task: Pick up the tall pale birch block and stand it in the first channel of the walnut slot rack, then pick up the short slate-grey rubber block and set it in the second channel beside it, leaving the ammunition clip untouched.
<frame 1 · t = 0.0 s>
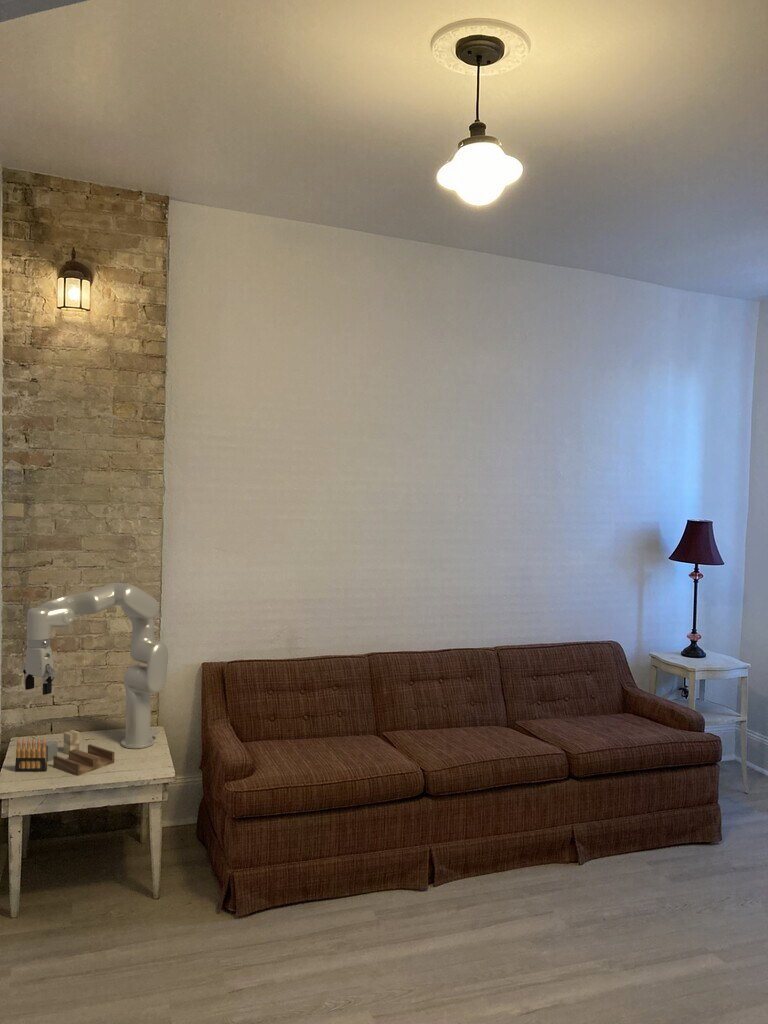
hand: (38, 691, 287), 31 cm above the table, fingers open, 9 cm apart
ammunition clip: (31, 771, 296), on the table
slot rack: (84, 764, 304), on the table
birch block: (71, 752, 315), on the table
rubber block: (49, 759, 308), on the table
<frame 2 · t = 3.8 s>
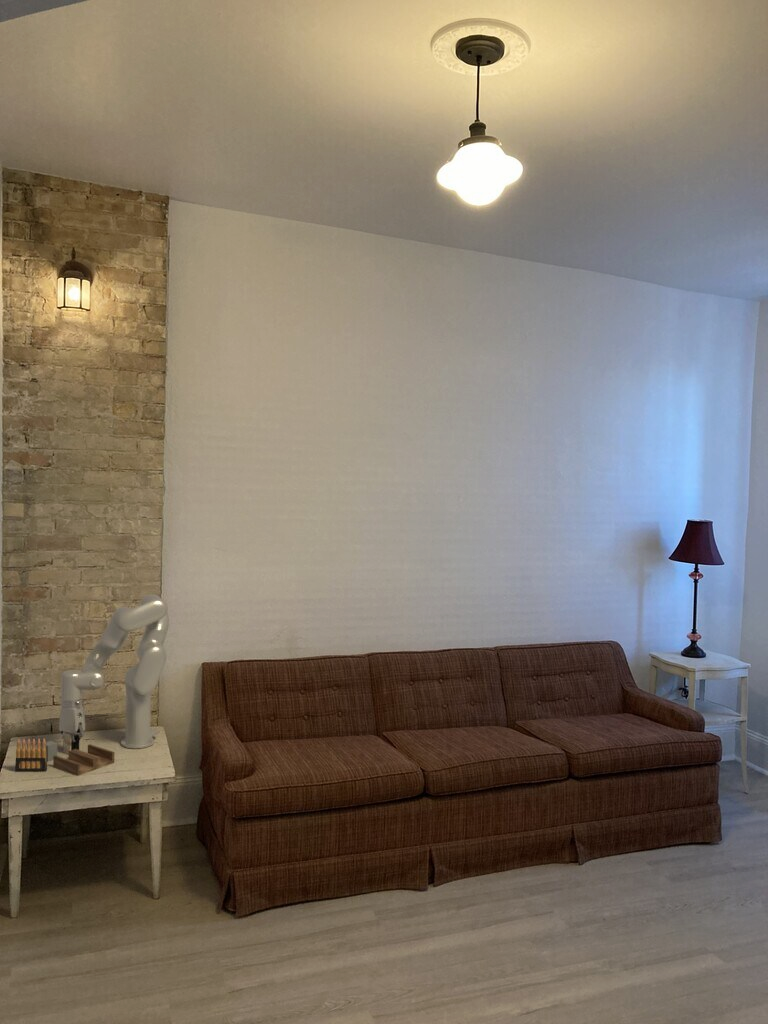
hand: (71, 749, 315), 1 cm above the table, fingers closed on birch block, 4 cm apart
birch block: (71, 752, 315), on the table, touching gripper
everything else where it was.
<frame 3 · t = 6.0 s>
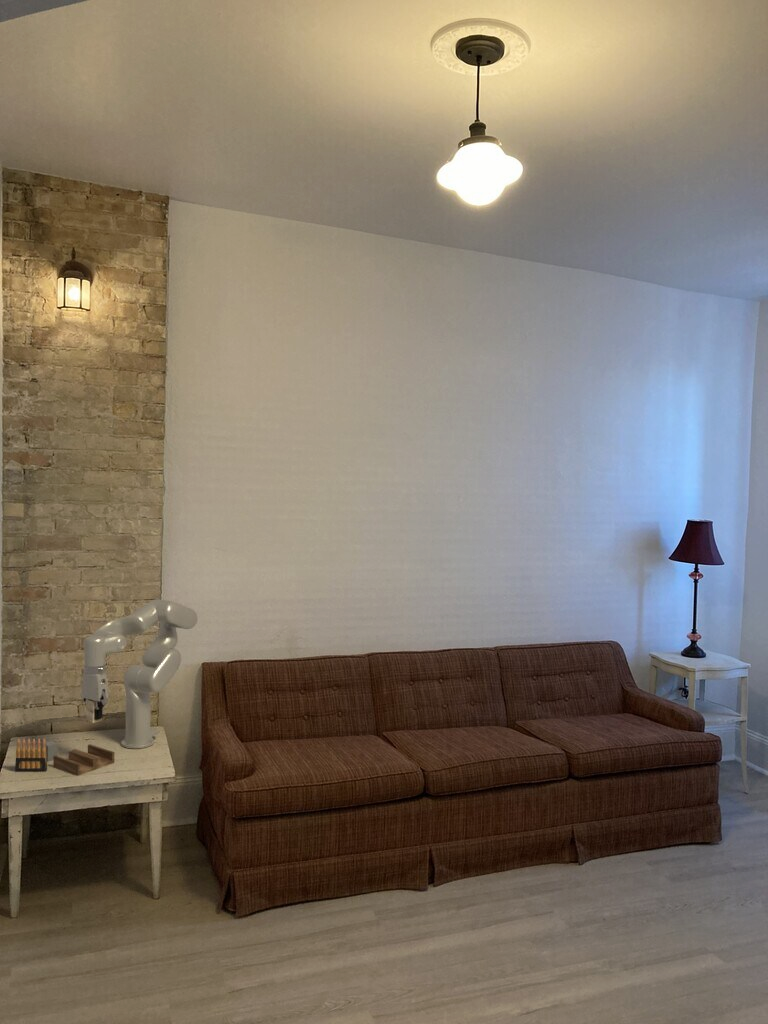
hand: (94, 717, 306), 17 cm above the table, fingers closed on birch block, 4 cm apart
birch block: (93, 720, 306), point 16 cm above the table, touching gripper
everything else where it was.
when the fingers open (3 cm above the table, at t = 8.7 s): birch block stays where it is, resting on slot rack.
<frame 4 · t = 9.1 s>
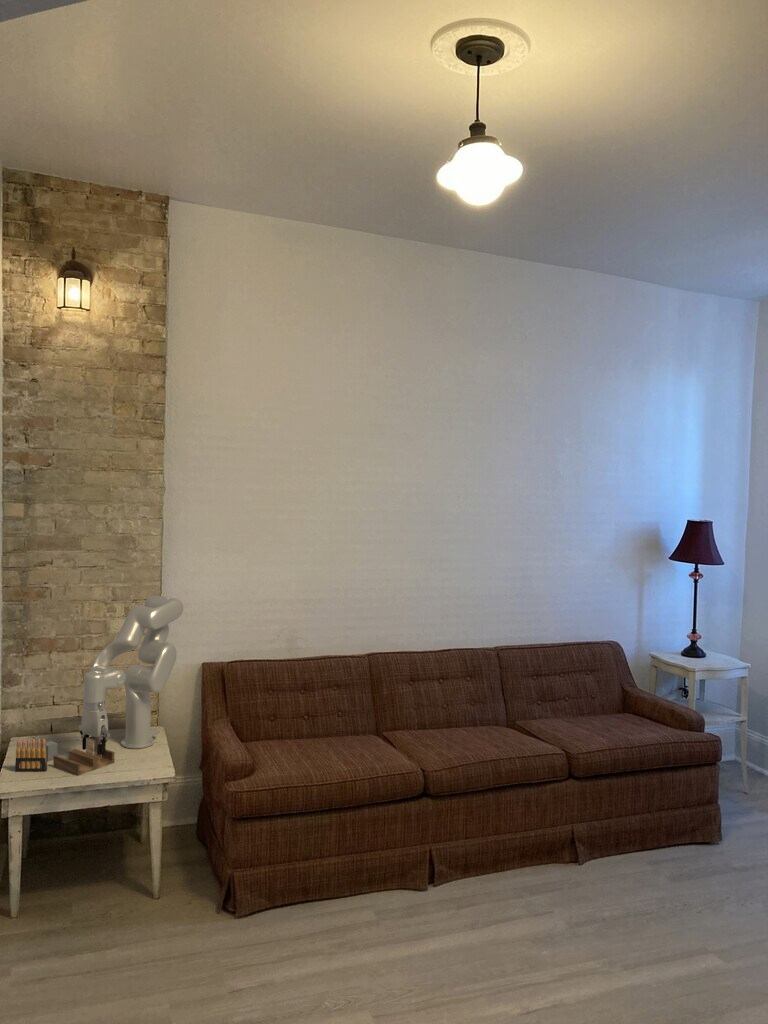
hand: (93, 750, 307), 4 cm above the table, fingers open, 8 cm apart
birch block: (93, 758, 307), point 1 cm above the table, touching slot rack
everything else where it was.
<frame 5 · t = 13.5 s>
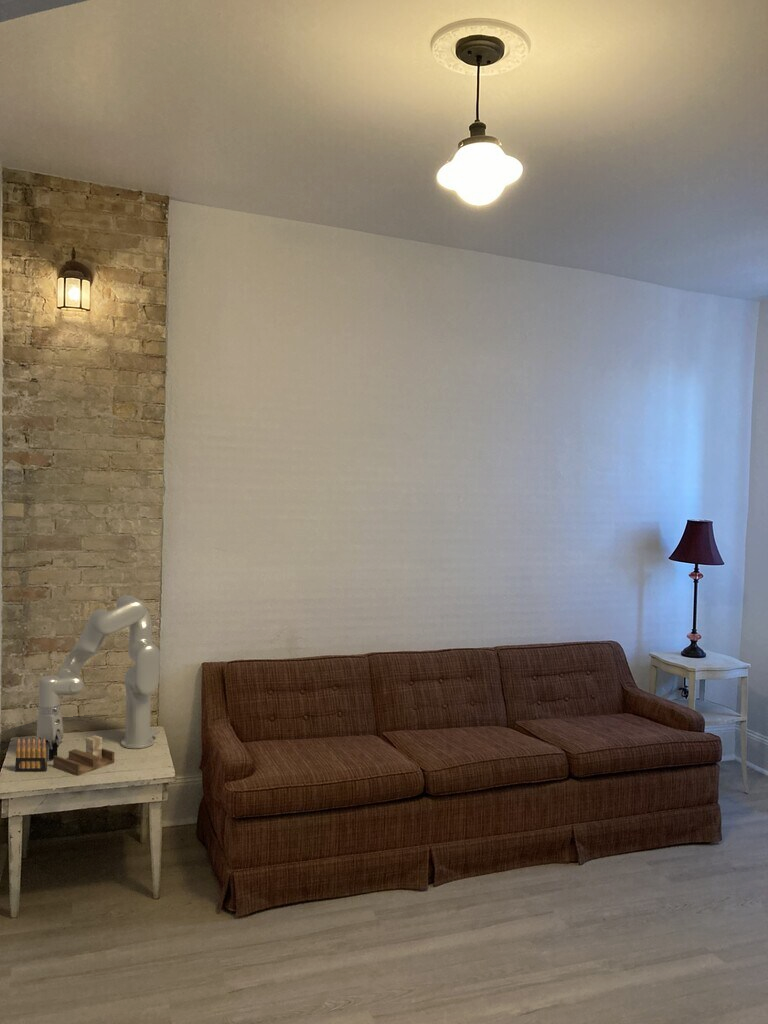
hand: (49, 756, 308), 1 cm above the table, fingers closed on rubber block, 4 cm apart
rubber block: (49, 758, 308), on the table, touching gripper
everything else where it was.
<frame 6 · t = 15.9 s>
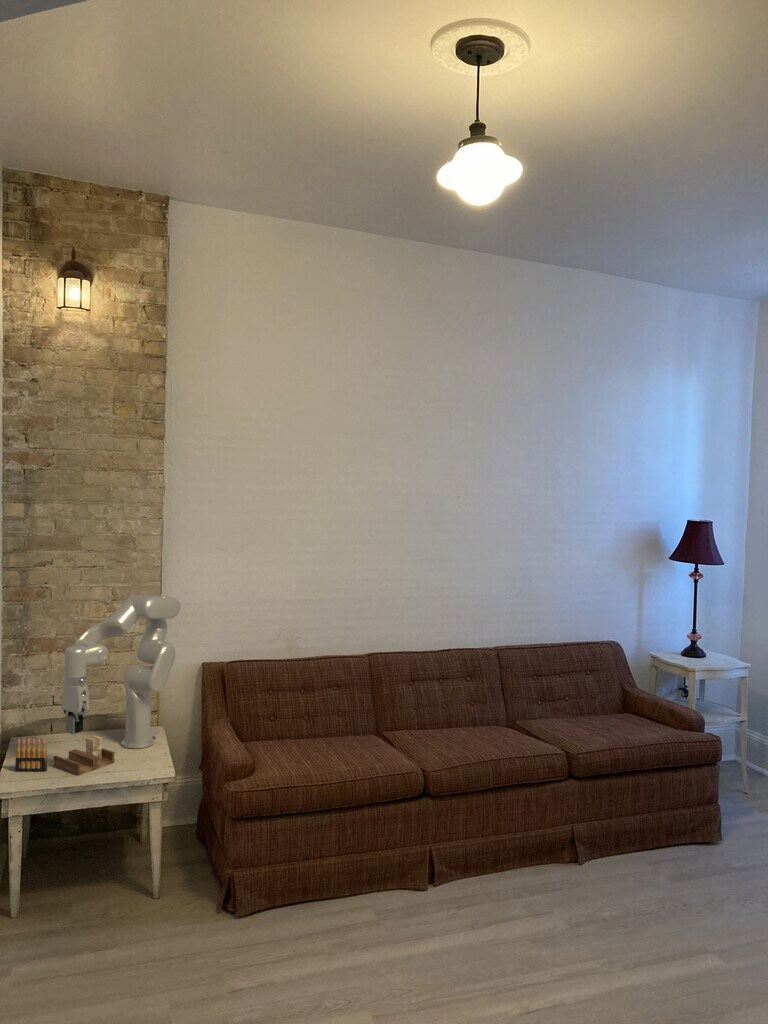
hand: (74, 729, 299), 14 cm above the table, fingers closed on rubber block, 4 cm apart
rubber block: (74, 732, 299), point 14 cm above the table, touching gripper
everything else where it was.
when the fingers open (3 cm above the table, at t = 18.2 s): rubber block stays where it is, resting on slot rack.
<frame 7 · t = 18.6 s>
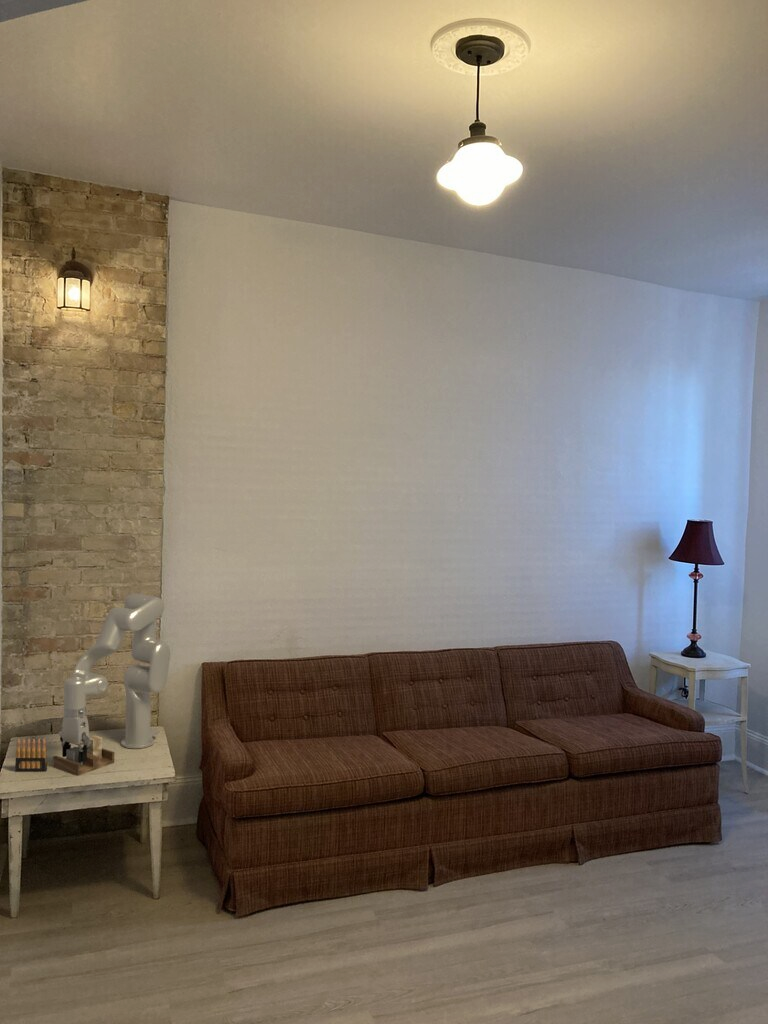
hand: (74, 758, 300), 4 cm above the table, fingers open, 8 cm apart
rubber block: (74, 765, 300), point 1 cm above the table, touching slot rack
everything else where it was.
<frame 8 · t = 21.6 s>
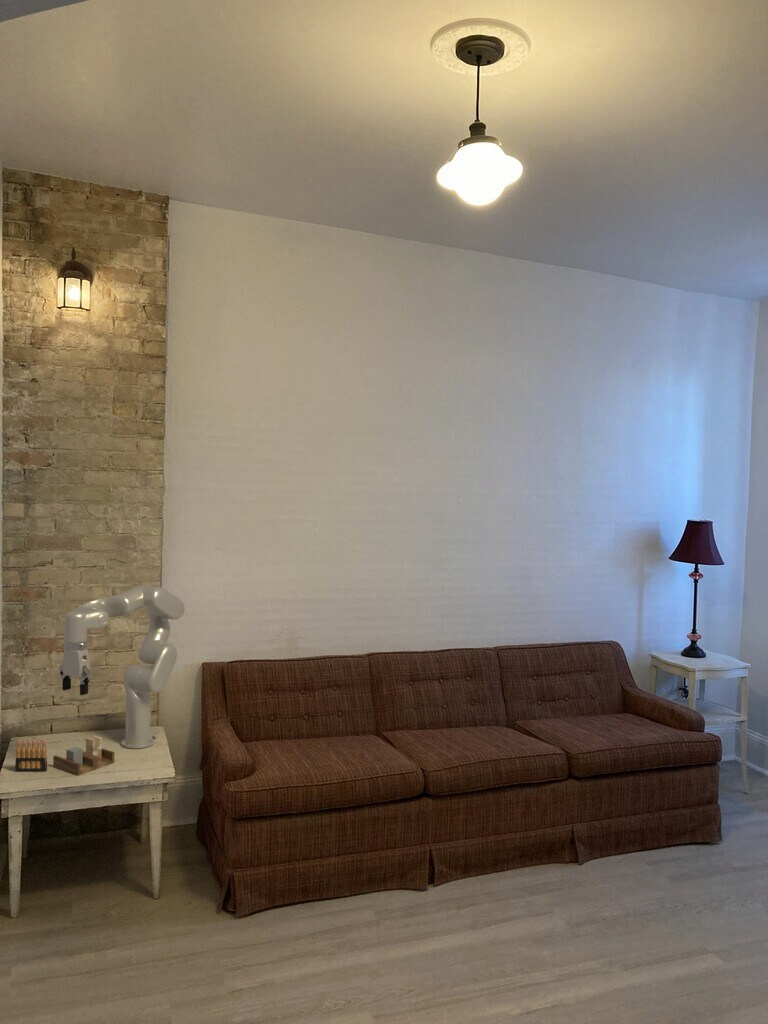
hand: (75, 692, 298), 28 cm above the table, fingers open, 9 cm apart
nothing on the table moved.
at the end: birch block inside the target area on the slot rack (0.0 cm from its centre), point 1.0 cm above the slot rack's base; rubber block inside the target area on the slot rack (0.0 cm from its centre), point 1.0 cm above the slot rack's base; birch block tilted 0° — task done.
